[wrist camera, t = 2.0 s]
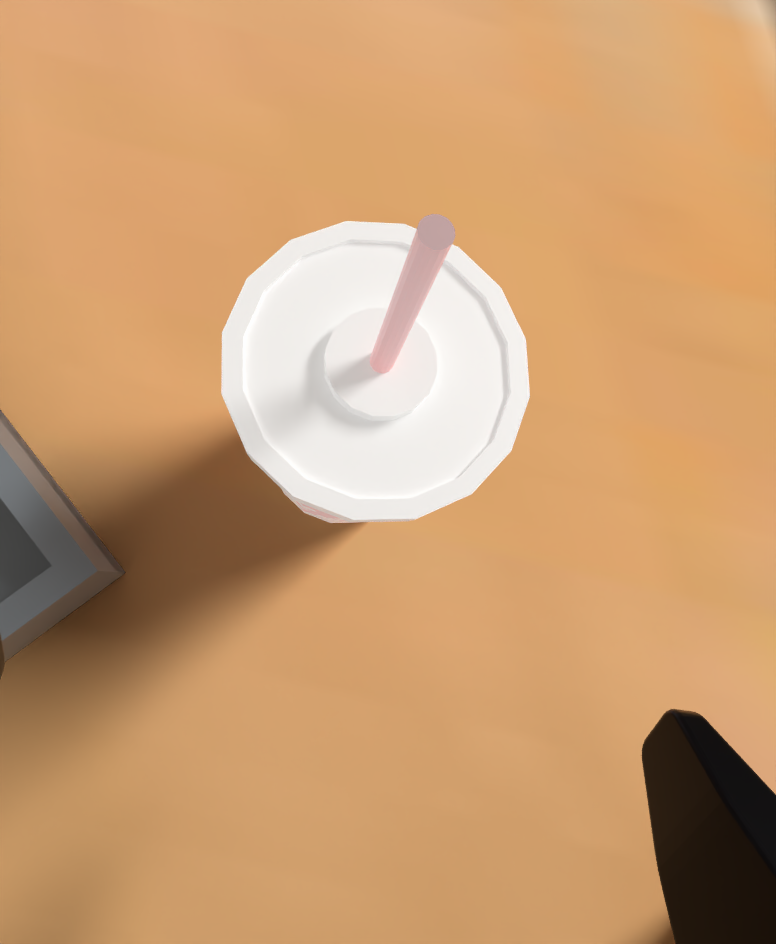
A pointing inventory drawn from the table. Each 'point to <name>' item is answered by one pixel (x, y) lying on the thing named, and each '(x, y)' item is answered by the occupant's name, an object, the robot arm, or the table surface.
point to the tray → (42, 548)
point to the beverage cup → (374, 371)
